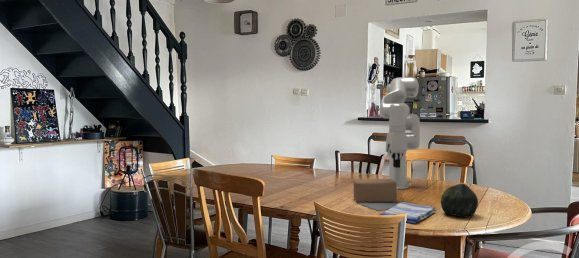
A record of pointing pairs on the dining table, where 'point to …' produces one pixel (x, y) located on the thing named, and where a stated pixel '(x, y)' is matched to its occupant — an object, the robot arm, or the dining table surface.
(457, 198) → the squash
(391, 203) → the mat
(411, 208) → the dish towel
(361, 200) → the wooden block
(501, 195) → the dining table surface
